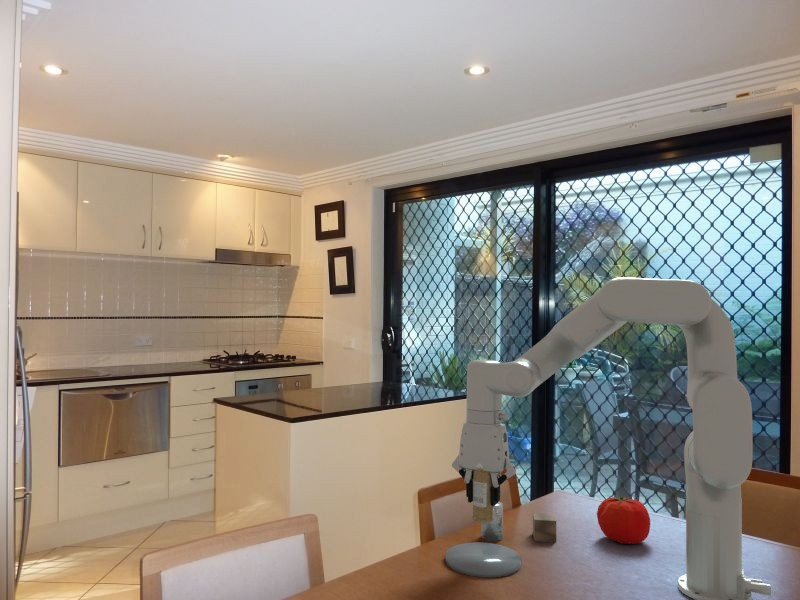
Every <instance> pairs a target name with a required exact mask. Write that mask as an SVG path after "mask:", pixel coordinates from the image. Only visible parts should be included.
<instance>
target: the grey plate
mask: <svg viewBox="0 0 800 600" xmlns="http://www.w3.org/2000/svg"><path fill="white" fill-rule="evenodd" d="M445 563H446V565H447V567H449V568H450V569H452V570H453V571H455V572H456V573H457V572H458V573H460V574H462V575H467V576H471V577H477V578H501V576H502V577H506V576H510V575H513V574H514V573H517V572H518V571H519V570H520V569H521V567H522V557H521V555H520V554H519V553H518V552H517V551H516V550H514V549H512V548H509V547H508V546H505V545H502V544H501V545H500V544H497V543H492V542H483V541H482V542H481V541H480V542H478V541H477V542H476V541H475V542H464V543H460V544H455V545H453V546H451V547H449V548H448V549H447V550H446V552H445ZM516 571H517V572H516Z"/></svg>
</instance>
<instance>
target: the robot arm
mask: <svg viewBox="0 0 800 600" xmlns="http://www.w3.org/2000/svg"><path fill="white" fill-rule="evenodd" d="M626 323H640V324H653V325H656V324H657V325H668V326H669V325H671V326H677V327H678V328H679V329H680V330H681V331H682V333H683V335H684V337H685V342H686V354H687V384H686V385H687V386H686V400H687V404H688V406H689V408H690V409H691V410H692V431H691V432H690V433H689V435H688V436H687V438H686V440H685V443H684V447H683V448H684V449H683V456H684V457H683V459H684V460H683V461H684V473H685V474H684V475H685V501H686V502H685V535H686V536H685V543H686V545H685V549H686V550H685V551H686V552H685V555H686V557H685V566H686V567H685V568H686V570H685V574H683V575H681V576H679V577H678V579H677V588H678V589H679V591H680V592H681V593H682V594H684V595H685V596H687V597H689V598H691V599H692V600H752V599H753V598H752V597H753V596H752V593H756V594H760V595H764V596H769V597H771V596H772V587H771V584H768V583H763V580H762V579H760V578H759V579H758V578H751V577H749V576H748V575H745V572H744V568H743V559H742V558H743V545H742V544H743V543H742V541H743V540H742V539H743V537H742V536H743V530H742V529H743V527H742V525H743V524H742V522H743V521H742V517H743V516H742V514H743V510H742V508H743V507H742V506H743V502H742V486H741V485H742V484H743V483H744V482H746V480H748V477H749V476H750V474H751V471H752V468H753V455H754V454H753V449H754V448H753V447H754V446H753V445H754V444H753V443H754V442H753V410H752V409H753V407H752V401H751V396H750V393H749V392H748V390H747V388H746V387H745V385H744V384H743V383H742V382H741V381H740V380H739V379H738V364H737V363H738V361H737V349H736V348H737V346H736V345H737V344H736V337H735V331H734V328H733V325H732V322H731V320H730V319H729V316H728V315H727V314H726V312H725V311H724V309H723V308H722V307H721V306H720V305H719V304H718V303H717V302H716V301H715V300H714V299H712V297H711V295H710V292H709V291H708V289H706V288H705V286H703V285H702V284H700V283H699V282H697V281H693V280H690V279H688V280H687V279H665V278H664V279H662V278H641V277H624V276H623V277H615V278H612V279H609V280H608V281H605V283H604V284H603V285H602V287H601V288H600V289H598V290H597V291H596V292H595V293H593V294H592V295H590V297H588V298H587V299H585V301H583V302H581V304H579V305H577V307H575V308H574V309H573V310H572V311H570V312H569V313H568V314H566V315H565V316H564V317H563V318H561V319H560V320H559V321H558V322H557V323H556V324H555V325H554V326H553V327H552V329H551V330H550V331H548V333H547V334H546V335H545V336H544V337H543V338H541V340H540V341H538V342H537V343H536V344H535V345H533V346H532V347H531V348H530V349H528V350H527V351H526V352H525V353H523V354H522V355H521V356H519V357H518V358H516V360H513V361H509V362H508V361H507V362H500V361H498V360H493V359H473V360H470V361H469V362H468V363H467V366H466V367H467V368H466V419H465V420H466V421H464V422H463V424H462V429H461V435H460V442H459V453H458V455H457V456H456V458H455V459H454V460H453V462H452V463H451V467H452V468H453V469H454V470H455V471H456V472H458V474H459V475H460V476H461V477H462V479H463V482H464V483H465V485H466V489H465V490H466V491H465V492H466V494H465V496H466V498H467V502H468V503H473V470H478V469H480V468H478V467H477V465H478V464H481V465H482V466H483V468H481V469H483V471H486V472H490V473H491V478H492V483H493V484H492V487H491V488H490V505H491V506H495V505H496V504H497V503H498V502H501V485H502V484H503V483H504V482H505V481H507V480H508V479H510V478H511V477H514V476H515V475H516V474H517V470H516V469H515V468H514V465H513V464H512V462H511V461H510V451H509V440H508V432H507V427H506V424H505V423H503V421H508V419H509V415H508V414H507V413H505V412H504V411H503V409H502V405H503V403H502V402H503V401H502V400H503V399H502V396H508V397H512V398H513V397H514V398H524V397H526V396H528V395H530V394H532V392H533V391H535V389H536V388H538V387H539V386H540V385H541V384H543V383H544V382H545V381H546V380H548V379H549V378H550V377H552V375H555V374H556V373H557V372H558V371H559V370H561V369H563V368H564V367H565V366H567V365H568V364H569V363H571V362H573V361H575V360H577V359H579V358H581V357H583V356H584V355H585V354H588V352H589V351H591V350H593V349H594V348H595V347H597V346H598V345H599V344H600V343H602V342H603V341H604V340H605V339H607V338H608V337H609V336H611V335H612V334H613V333H614V332H616V331H617V330H619V329H620V328H621V327H623V326H624V325H625V324H626ZM504 470H506V472H505V473H503V474H502V472H503V471H504Z"/></svg>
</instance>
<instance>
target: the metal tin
mask: <svg viewBox="0 0 800 600" xmlns="http://www.w3.org/2000/svg"><path fill="white" fill-rule="evenodd" d="M482 538H483V540H484V539H485V540H484V541H489V542H500V541H502V540H503V539H504V503H503V502H501V501H499V502H498V503H497V504H496V505H495V506H493V521H491V522H486V523H482V522H481V539H482Z"/></svg>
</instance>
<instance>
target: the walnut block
mask: <svg viewBox="0 0 800 600" xmlns="http://www.w3.org/2000/svg"><path fill="white" fill-rule="evenodd" d="M532 536H533V540H535V542H546V541H550V542H549V543H557V519H556V516H555V514H554V513H535V512H532ZM551 541H552V542H551Z"/></svg>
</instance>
